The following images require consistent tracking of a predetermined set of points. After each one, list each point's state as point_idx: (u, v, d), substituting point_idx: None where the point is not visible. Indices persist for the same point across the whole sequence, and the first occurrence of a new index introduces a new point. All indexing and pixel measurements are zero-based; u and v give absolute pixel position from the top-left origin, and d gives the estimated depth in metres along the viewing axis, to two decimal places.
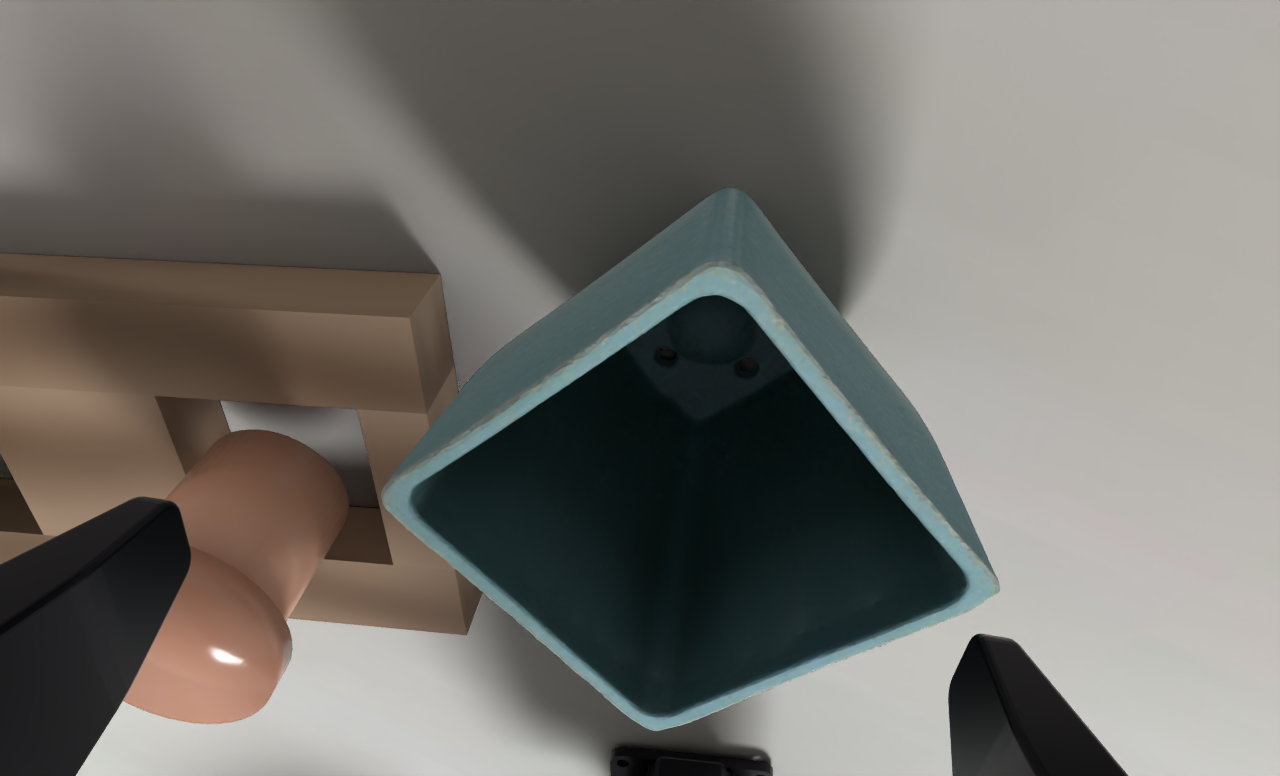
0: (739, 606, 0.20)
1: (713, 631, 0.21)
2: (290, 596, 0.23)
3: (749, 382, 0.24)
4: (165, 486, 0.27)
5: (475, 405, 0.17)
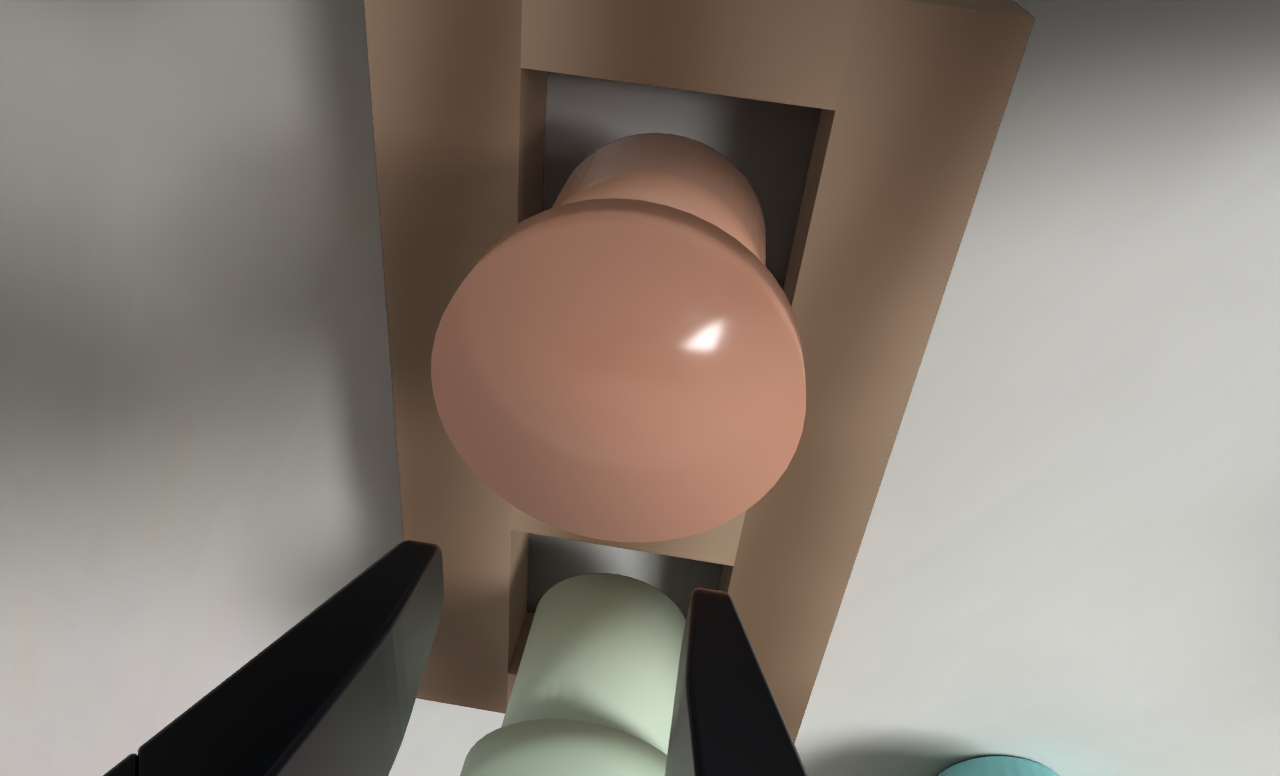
0: None
1: None
2: None
3: None
4: None
5: None
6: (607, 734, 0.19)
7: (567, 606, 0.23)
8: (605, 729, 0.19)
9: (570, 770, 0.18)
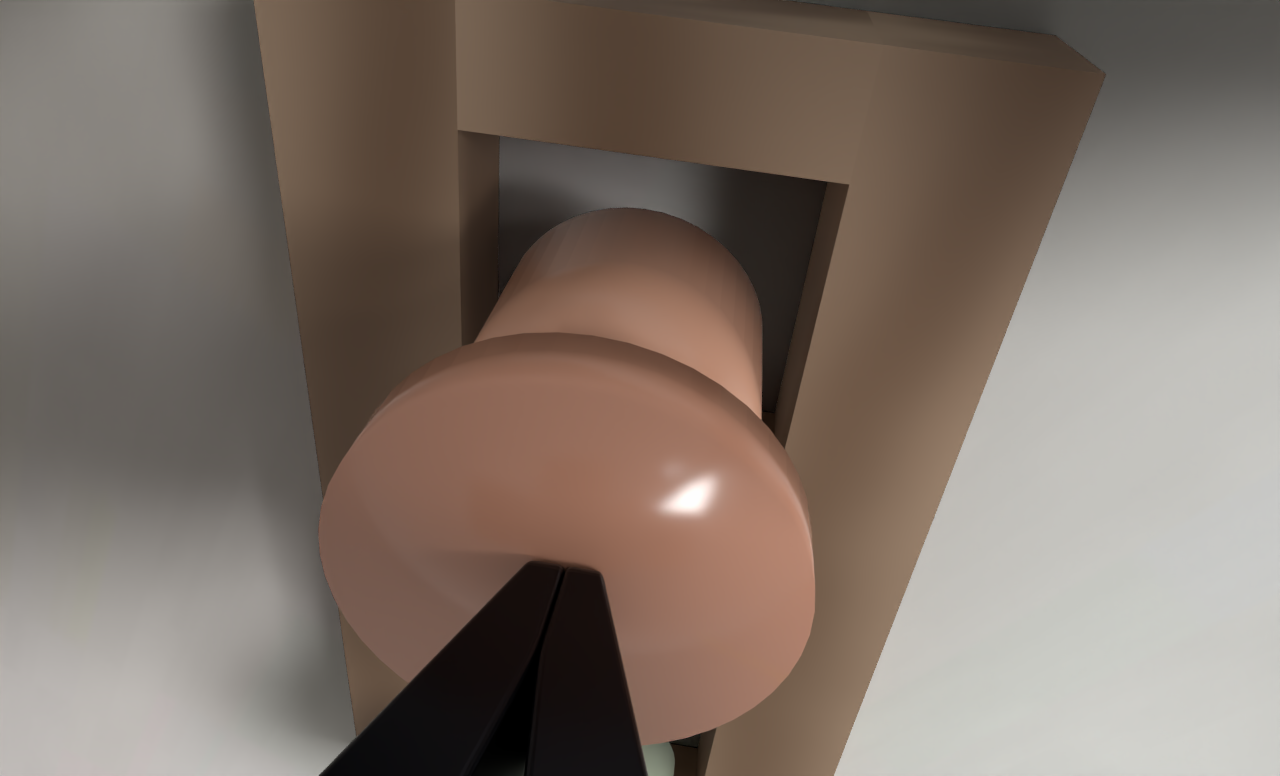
0: None
1: None
2: (628, 331, 0.10)
3: None
4: None
5: None
6: None
7: None
8: None
9: None
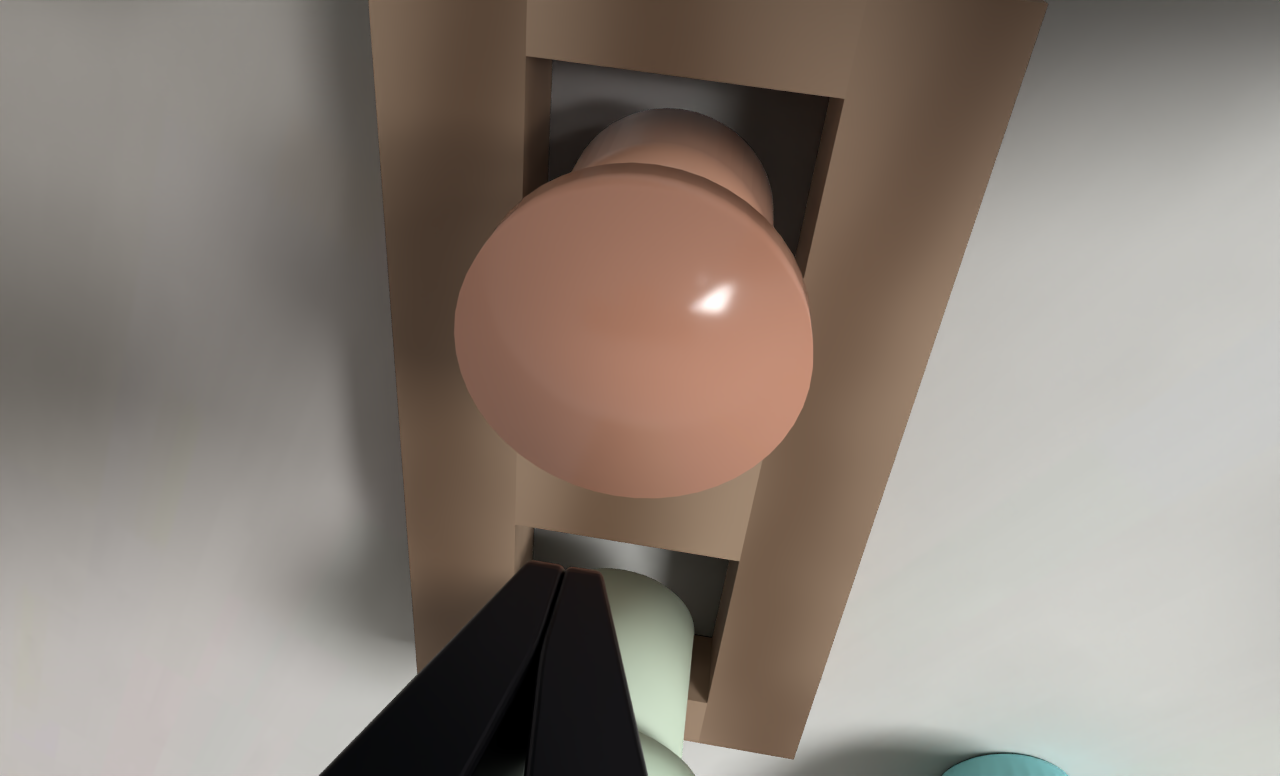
0: None
1: None
2: None
3: None
4: None
5: None
6: None
7: None
8: None
9: None
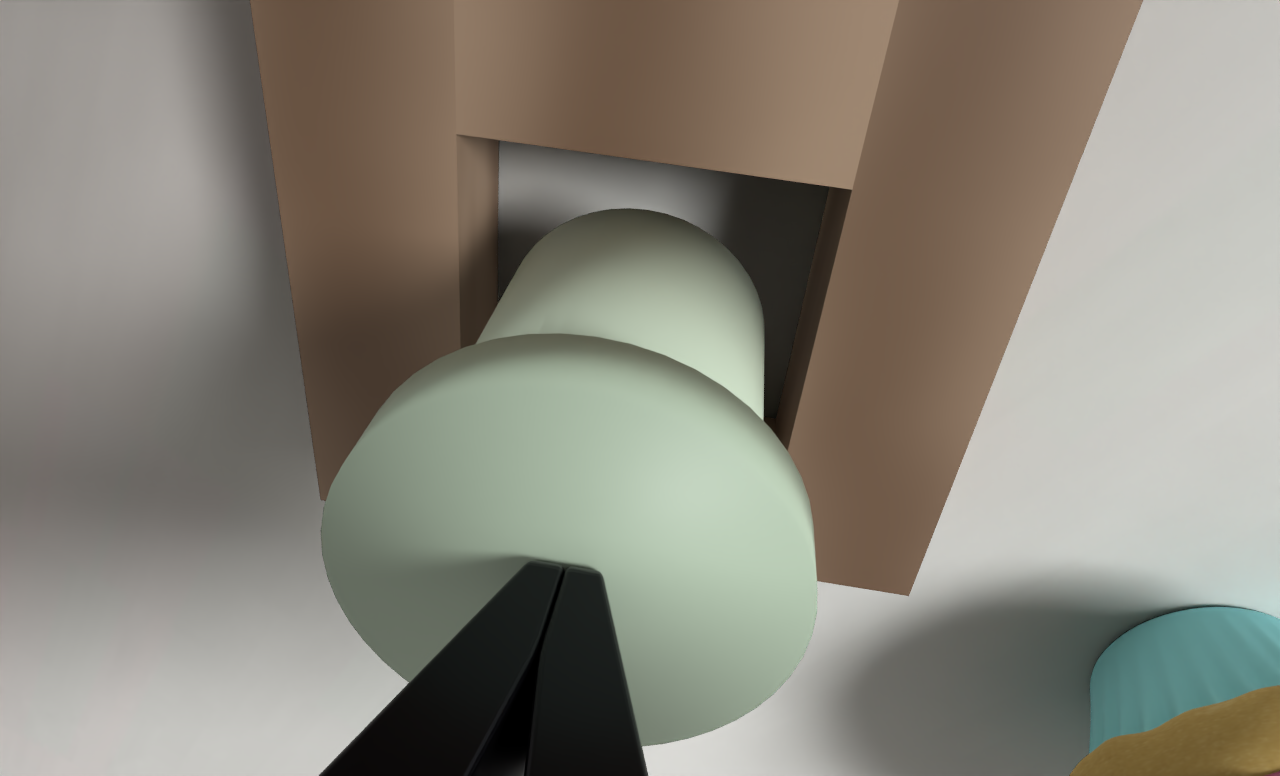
0: None
1: None
2: None
3: None
4: None
5: None
6: (640, 356, 0.09)
7: (559, 248, 0.13)
8: (635, 349, 0.09)
9: (561, 412, 0.08)
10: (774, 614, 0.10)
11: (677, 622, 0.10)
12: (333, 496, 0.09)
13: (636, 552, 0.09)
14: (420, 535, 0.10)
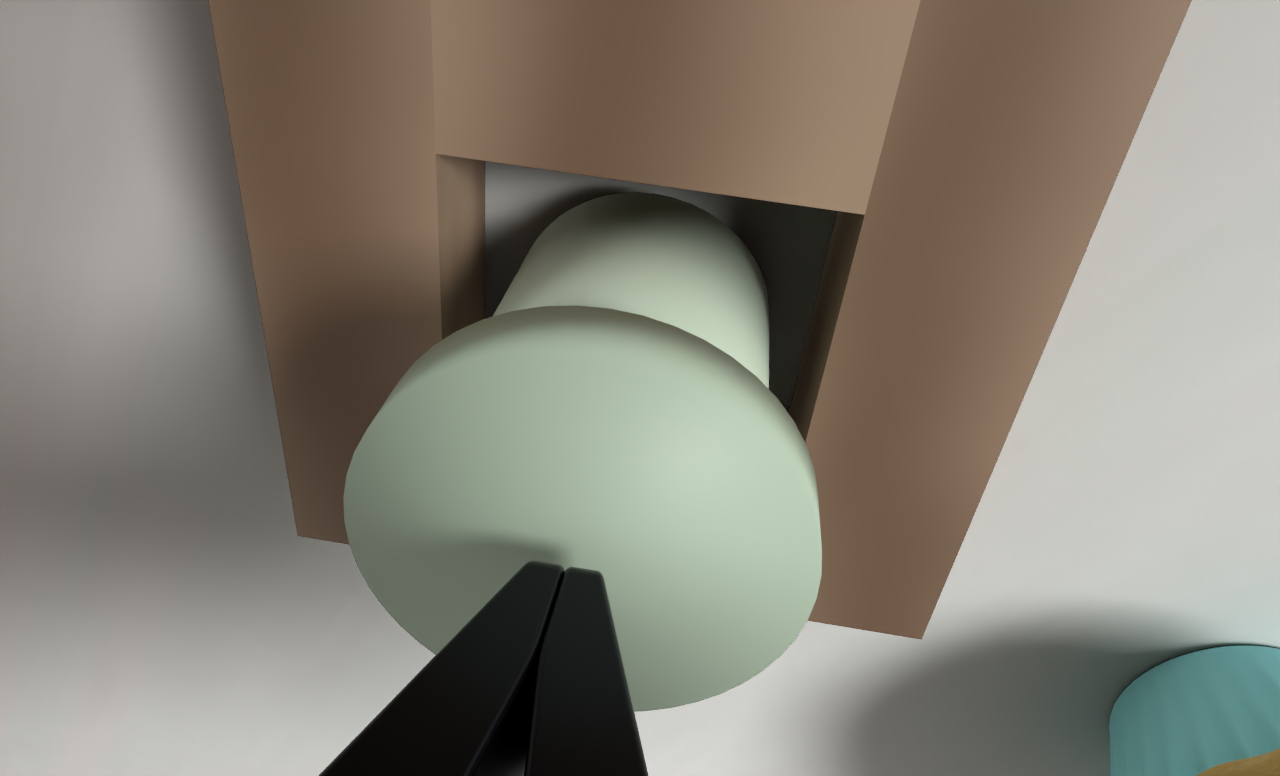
0: None
1: None
2: None
3: None
4: None
5: None
6: (652, 327, 0.09)
7: (570, 230, 0.13)
8: (646, 320, 0.09)
9: (577, 378, 0.09)
10: (780, 577, 0.10)
11: (686, 586, 0.10)
12: (356, 463, 0.10)
13: (647, 516, 0.10)
14: (439, 501, 0.10)
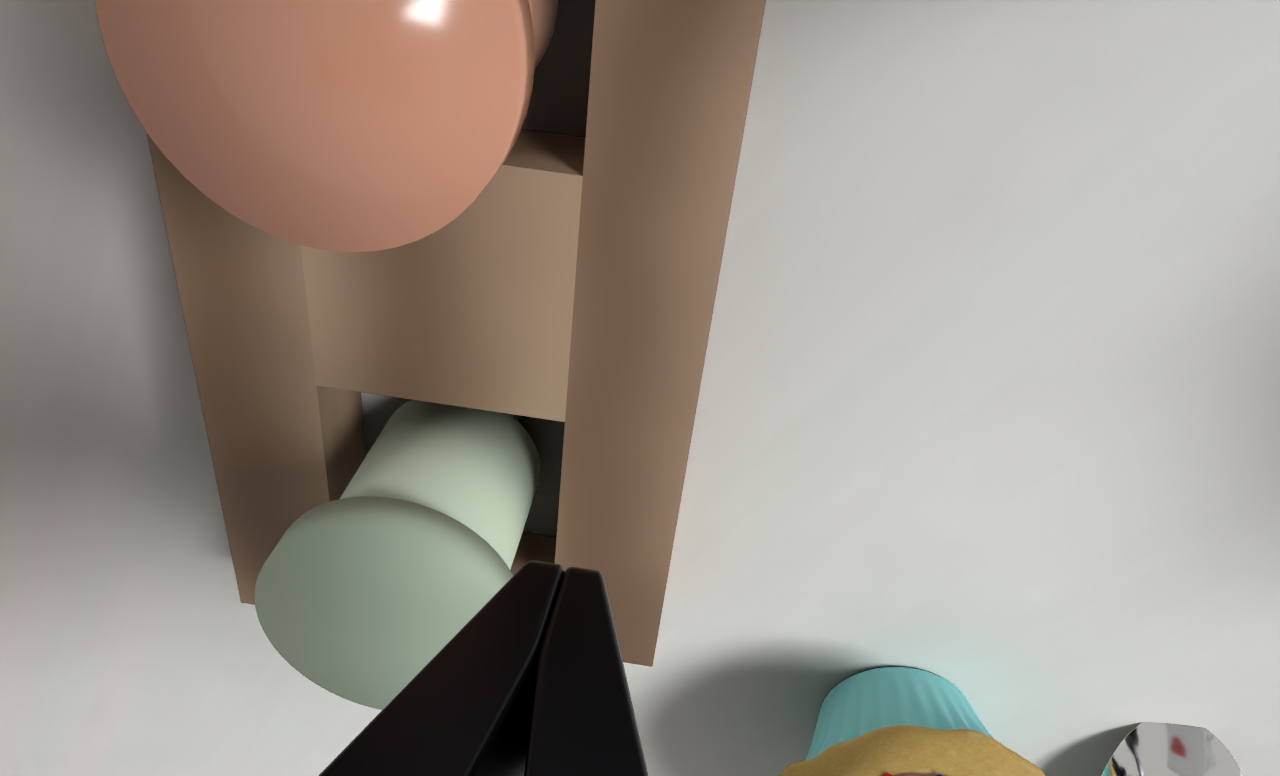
0: None
1: None
2: None
3: None
4: None
5: None
6: (413, 509, 0.18)
7: (403, 420, 0.22)
8: (411, 505, 0.18)
9: (369, 540, 0.17)
10: None
11: (443, 642, 0.19)
12: (260, 579, 0.18)
13: (416, 606, 0.18)
14: (306, 598, 0.18)
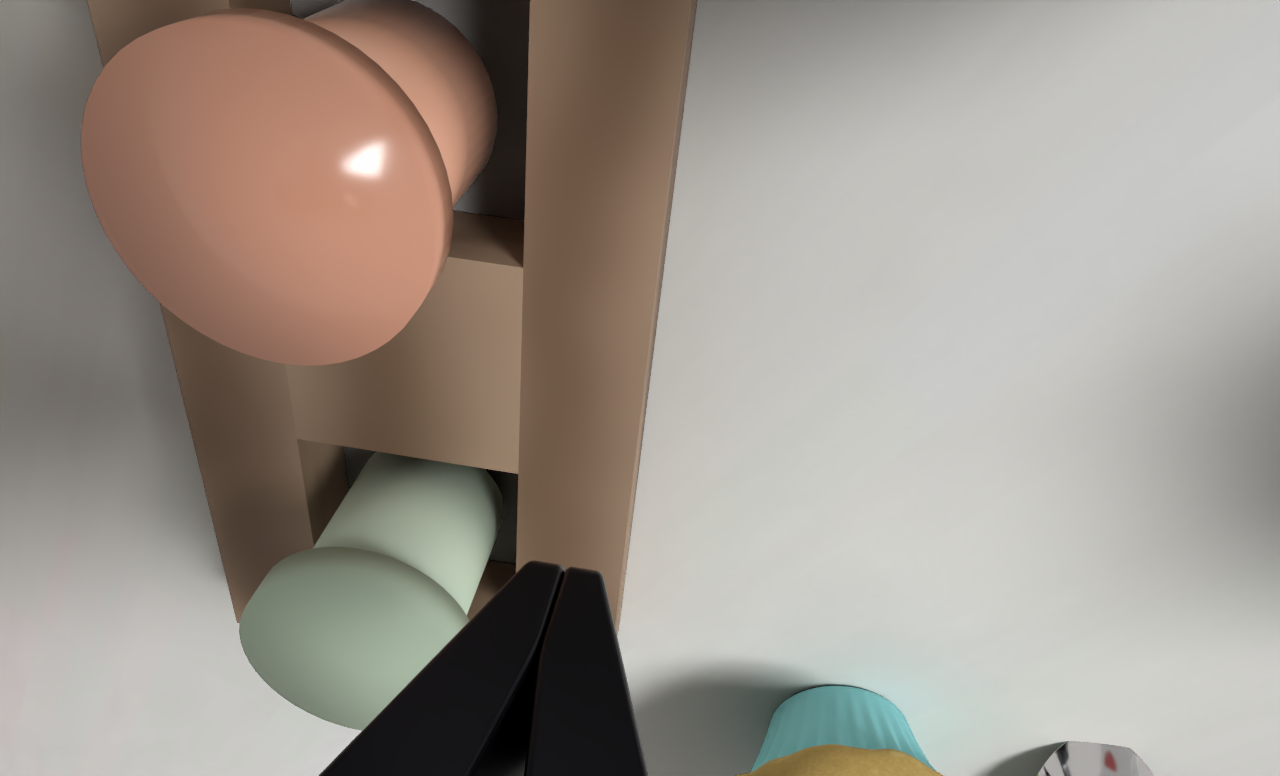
0: None
1: None
2: None
3: None
4: None
5: None
6: (375, 559, 0.20)
7: (377, 467, 0.24)
8: (374, 555, 0.20)
9: (335, 587, 0.20)
10: None
11: (404, 673, 0.21)
12: (243, 617, 0.21)
13: (379, 643, 0.21)
14: (284, 634, 0.21)
